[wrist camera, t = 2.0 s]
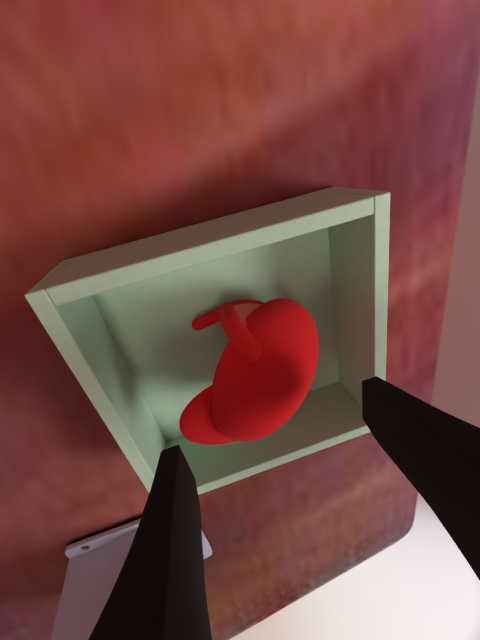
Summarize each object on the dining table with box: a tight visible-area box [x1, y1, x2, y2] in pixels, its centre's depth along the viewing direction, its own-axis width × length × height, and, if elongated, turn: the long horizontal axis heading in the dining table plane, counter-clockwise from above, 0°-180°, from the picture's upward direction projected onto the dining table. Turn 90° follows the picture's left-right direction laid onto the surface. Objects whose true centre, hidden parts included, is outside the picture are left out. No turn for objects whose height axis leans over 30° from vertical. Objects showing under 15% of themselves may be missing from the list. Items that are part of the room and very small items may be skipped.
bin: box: [24, 186, 390, 495], centre depth 16 cm, size 14×13×4 cm
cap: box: [179, 298, 319, 445], centre depth 15 cm, size 8×6×6 cm
